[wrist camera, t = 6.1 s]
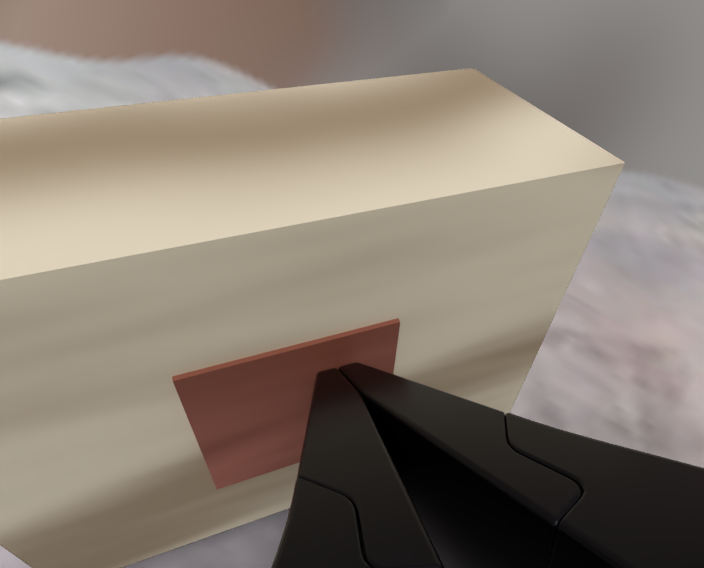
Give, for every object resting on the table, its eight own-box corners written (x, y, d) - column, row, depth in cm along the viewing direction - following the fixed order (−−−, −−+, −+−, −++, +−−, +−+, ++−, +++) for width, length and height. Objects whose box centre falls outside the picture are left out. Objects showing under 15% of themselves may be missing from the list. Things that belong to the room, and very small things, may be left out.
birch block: (501, 437, 14) (629, 165, 8) (61, 593, 11) (-300, 342, 5) (425, 319, 17) (472, 67, 11) (76, 411, 14) (-120, 131, 8)
